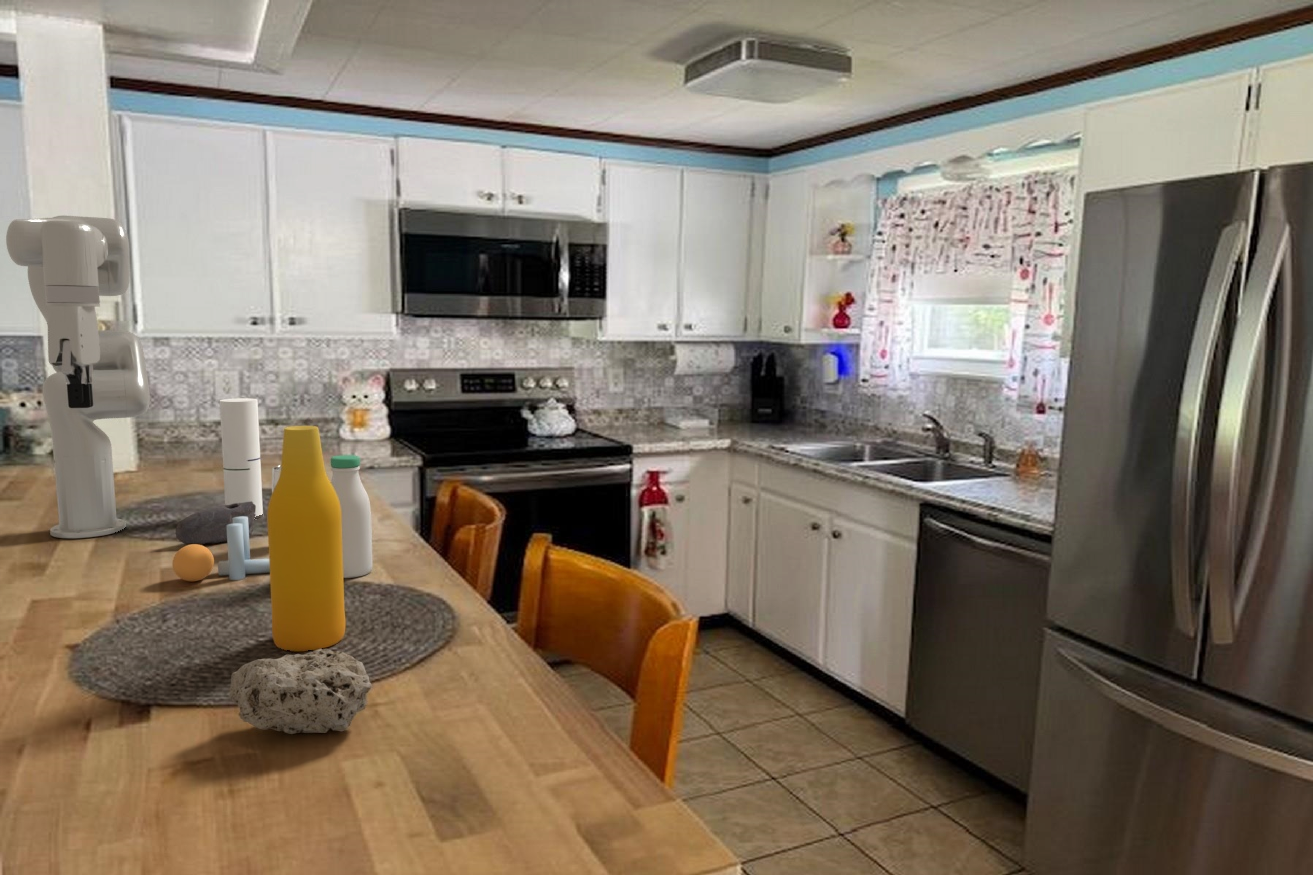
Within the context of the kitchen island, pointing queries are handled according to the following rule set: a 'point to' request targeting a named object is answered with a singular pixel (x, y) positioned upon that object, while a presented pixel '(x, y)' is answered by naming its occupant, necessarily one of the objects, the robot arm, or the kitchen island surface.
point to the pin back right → (244, 534)
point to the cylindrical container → (241, 452)
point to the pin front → (247, 566)
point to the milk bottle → (353, 516)
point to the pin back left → (235, 551)
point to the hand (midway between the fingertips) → (81, 407)
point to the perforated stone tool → (213, 523)
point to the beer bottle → (305, 548)
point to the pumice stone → (301, 692)
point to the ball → (193, 562)
